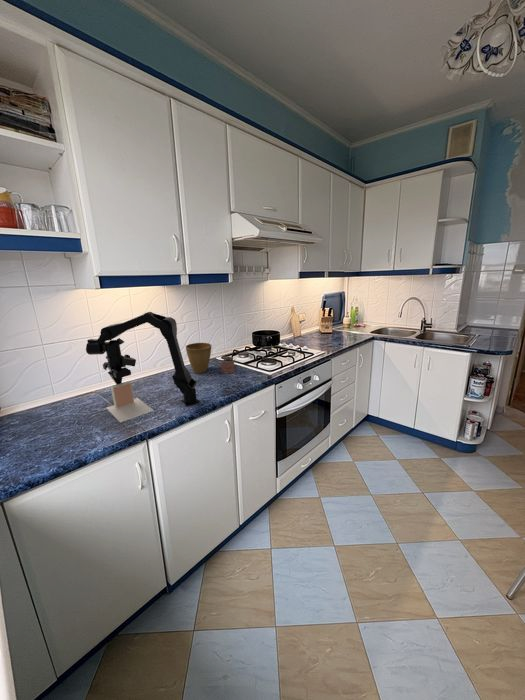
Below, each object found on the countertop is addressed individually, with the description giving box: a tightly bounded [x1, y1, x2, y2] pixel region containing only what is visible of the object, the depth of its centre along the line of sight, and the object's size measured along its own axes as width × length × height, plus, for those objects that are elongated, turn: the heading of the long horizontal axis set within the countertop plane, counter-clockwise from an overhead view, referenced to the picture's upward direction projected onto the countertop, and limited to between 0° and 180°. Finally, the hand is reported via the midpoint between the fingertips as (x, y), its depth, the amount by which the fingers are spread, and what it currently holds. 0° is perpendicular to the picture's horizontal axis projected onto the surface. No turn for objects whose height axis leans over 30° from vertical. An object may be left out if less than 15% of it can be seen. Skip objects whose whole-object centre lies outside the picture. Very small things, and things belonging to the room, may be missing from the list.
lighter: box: [220, 355, 236, 375], centre depth 170 cm, size 8×3×10 cm, turn 84°
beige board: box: [106, 397, 154, 423], centre depth 128 cm, size 18×14×1 cm
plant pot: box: [185, 342, 212, 374], centre depth 172 cm, size 15×15×16 cm
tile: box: [110, 380, 135, 408], centre depth 130 cm, size 2×8×10 cm, turn 134°
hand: (119, 386), depth 132 cm, fingers closed
